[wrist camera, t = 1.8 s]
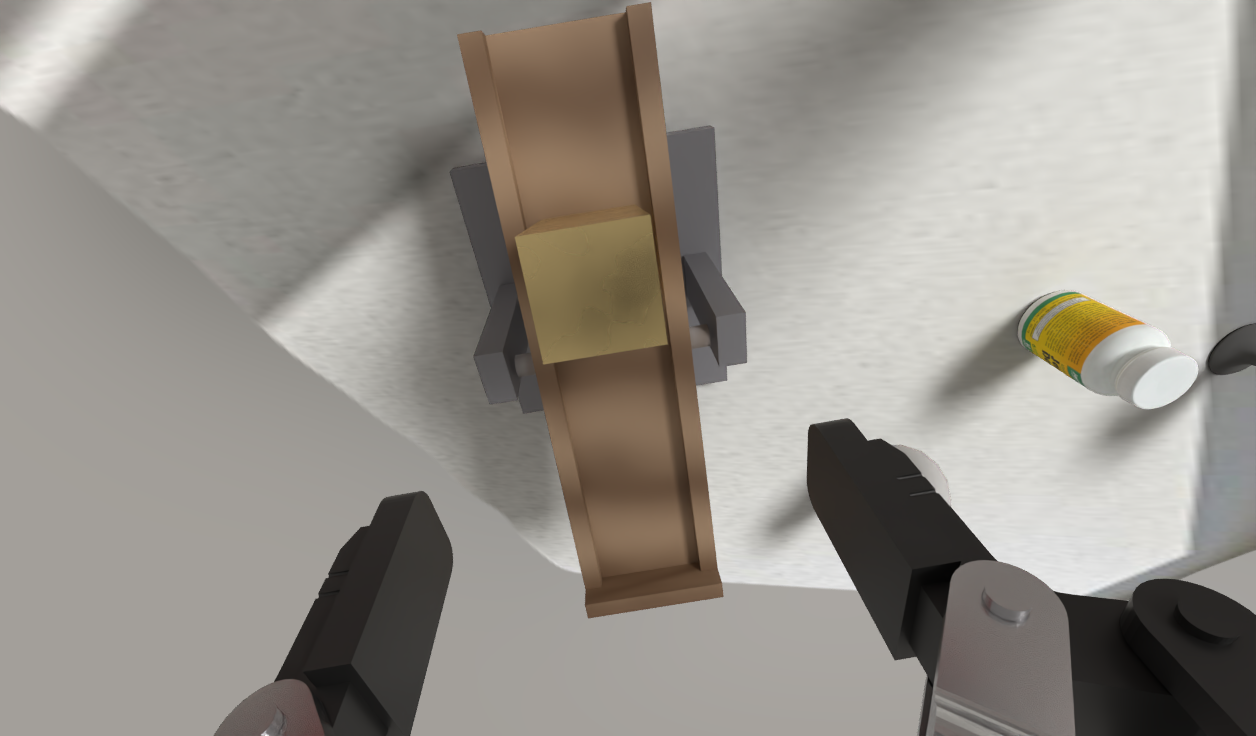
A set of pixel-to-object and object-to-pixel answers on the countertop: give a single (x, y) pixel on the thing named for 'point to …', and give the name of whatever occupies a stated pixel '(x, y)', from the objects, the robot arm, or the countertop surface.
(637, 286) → the rider
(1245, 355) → the sundae
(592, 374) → the beam
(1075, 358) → the supplement bottle
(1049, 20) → the countertop surface
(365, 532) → the robot arm
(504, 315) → the pivot stand
